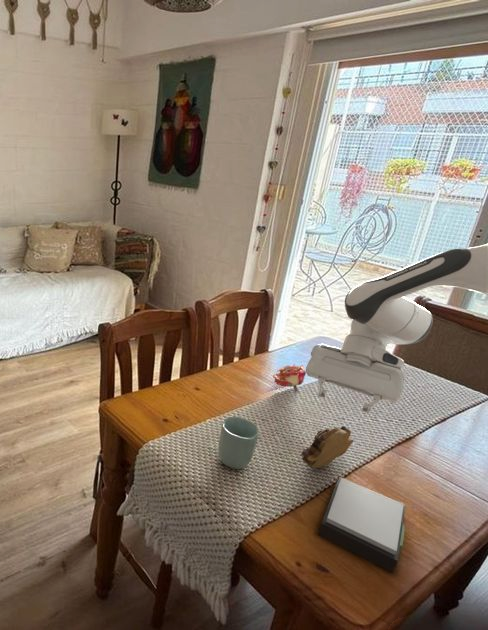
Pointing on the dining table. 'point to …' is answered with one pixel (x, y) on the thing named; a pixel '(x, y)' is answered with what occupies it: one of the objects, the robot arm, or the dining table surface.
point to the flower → (290, 376)
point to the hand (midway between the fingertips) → (342, 404)
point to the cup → (237, 442)
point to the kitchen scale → (365, 523)
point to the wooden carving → (327, 446)
